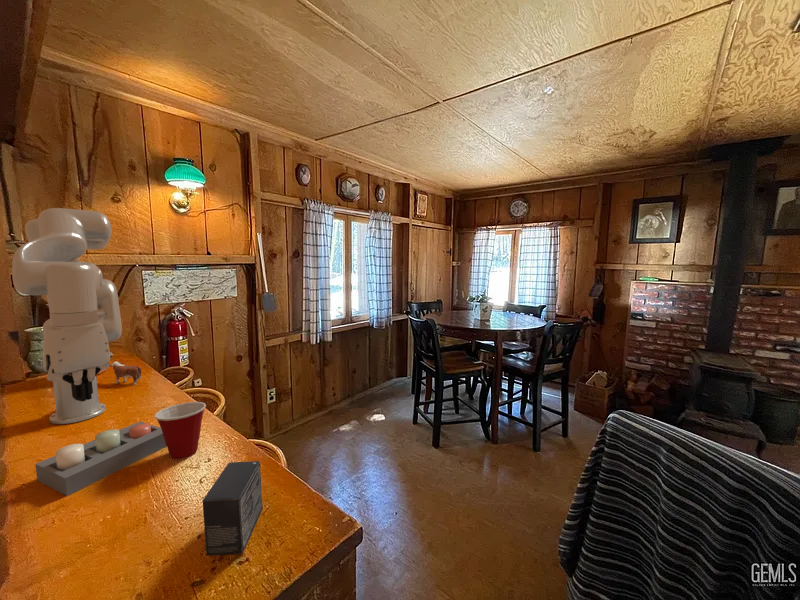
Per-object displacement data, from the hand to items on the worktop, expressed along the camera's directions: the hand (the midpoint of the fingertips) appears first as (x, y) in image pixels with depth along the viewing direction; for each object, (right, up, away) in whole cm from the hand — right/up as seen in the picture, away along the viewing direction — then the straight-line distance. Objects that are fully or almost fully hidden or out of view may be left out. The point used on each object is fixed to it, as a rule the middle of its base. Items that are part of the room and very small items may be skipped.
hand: (83, 399), depth 74 cm
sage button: (+1, -15, +6) cm, 16 cm away
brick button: (+3, -16, +12) cm, 20 cm away
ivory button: (-2, -15, -1) cm, 16 cm away
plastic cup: (+16, -17, +10) cm, 25 cm away
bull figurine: (-36, -10, +55) cm, 67 cm away
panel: (+1, -17, +6) cm, 18 cm away
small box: (+41, -20, -14) cm, 48 cm away
